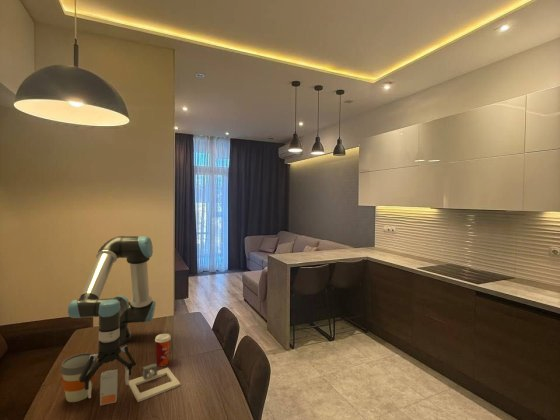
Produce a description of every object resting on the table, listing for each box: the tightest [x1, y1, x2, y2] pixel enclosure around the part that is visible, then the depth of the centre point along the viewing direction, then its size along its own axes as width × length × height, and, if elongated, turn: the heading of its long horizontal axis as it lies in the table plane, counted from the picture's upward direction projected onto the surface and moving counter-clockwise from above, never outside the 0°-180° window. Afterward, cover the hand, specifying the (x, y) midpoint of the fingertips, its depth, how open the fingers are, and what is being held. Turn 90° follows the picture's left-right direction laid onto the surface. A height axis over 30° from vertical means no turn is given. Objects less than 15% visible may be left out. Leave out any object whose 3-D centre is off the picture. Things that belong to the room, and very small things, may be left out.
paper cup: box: [154, 333, 172, 367], centre depth 152 cm, size 8×8×14 cm
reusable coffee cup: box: [60, 352, 97, 403], centre depth 126 cm, size 13×13×15 cm
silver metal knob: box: [147, 369, 154, 376], centre depth 138 cm, size 5×3×3 cm, turn 40°
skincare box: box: [99, 368, 119, 407], centre depth 123 cm, size 6×4×12 cm
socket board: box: [128, 363, 181, 403], centre depth 135 cm, size 16×18×6 cm
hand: (108, 389), depth 123 cm, fingers open, 13 cm apart
